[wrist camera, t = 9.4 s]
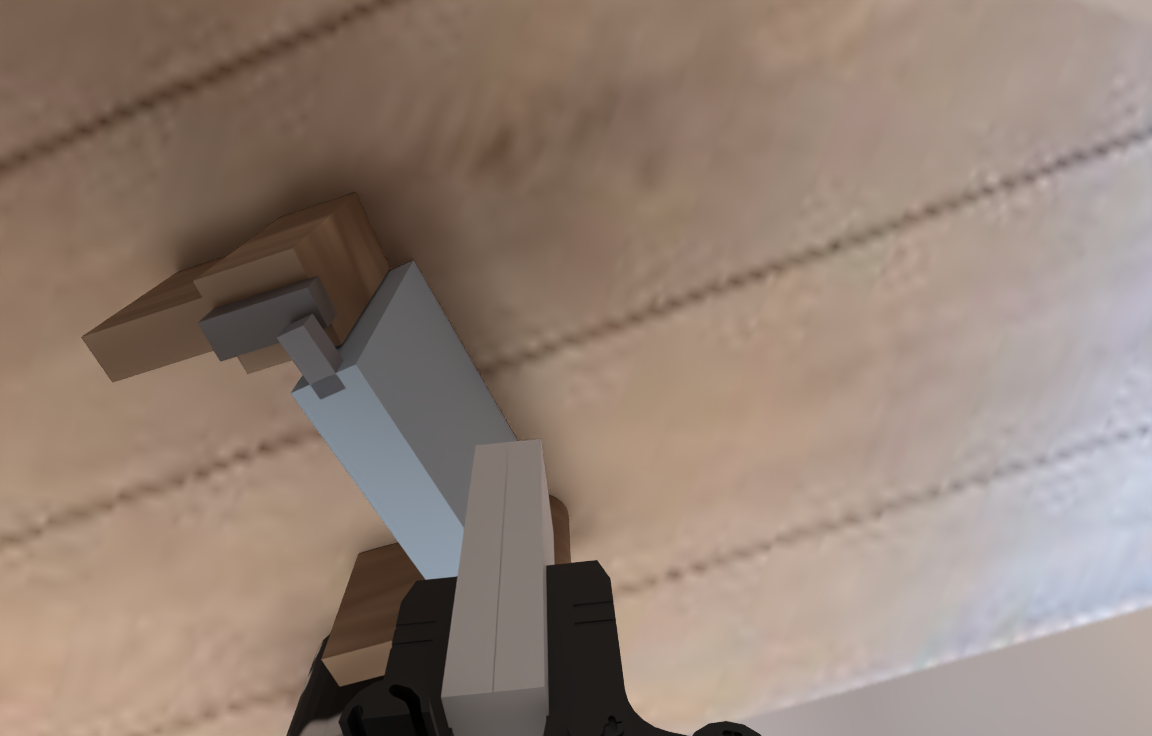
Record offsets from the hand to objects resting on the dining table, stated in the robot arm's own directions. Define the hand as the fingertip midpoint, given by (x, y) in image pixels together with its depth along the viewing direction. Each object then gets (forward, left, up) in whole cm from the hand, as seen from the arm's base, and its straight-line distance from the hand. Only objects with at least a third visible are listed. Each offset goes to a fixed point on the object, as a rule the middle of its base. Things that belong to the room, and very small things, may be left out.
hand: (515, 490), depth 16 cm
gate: (+2, -4, -12) cm, 13 cm away
